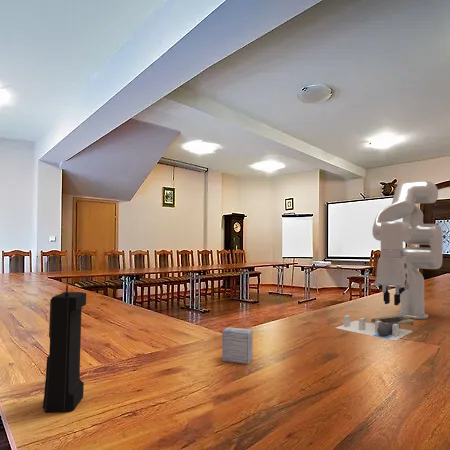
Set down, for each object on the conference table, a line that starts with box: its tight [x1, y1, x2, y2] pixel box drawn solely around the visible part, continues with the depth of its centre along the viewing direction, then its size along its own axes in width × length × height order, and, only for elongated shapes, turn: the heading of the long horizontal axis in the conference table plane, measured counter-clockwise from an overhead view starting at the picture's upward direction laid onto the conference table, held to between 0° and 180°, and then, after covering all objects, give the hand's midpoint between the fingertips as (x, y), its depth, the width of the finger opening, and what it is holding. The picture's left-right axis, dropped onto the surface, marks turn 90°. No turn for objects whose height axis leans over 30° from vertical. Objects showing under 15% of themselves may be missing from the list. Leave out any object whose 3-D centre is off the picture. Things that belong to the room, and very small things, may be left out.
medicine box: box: [221, 326, 254, 365], centre depth 99 cm, size 8×4×9 cm, turn 71°
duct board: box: [335, 314, 413, 341], centre depth 131 cm, size 18×22×5 cm
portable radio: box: [42, 283, 87, 413], centre depth 72 cm, size 8×6×25 cm
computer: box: [370, 314, 415, 326], centre depth 143 cm, size 16×8×3 cm, turn 116°
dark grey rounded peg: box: [377, 321, 401, 336], centre depth 125 cm, size 14×3×3 cm, turn 135°
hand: (391, 303), depth 128 cm, fingers open, 2 cm apart
